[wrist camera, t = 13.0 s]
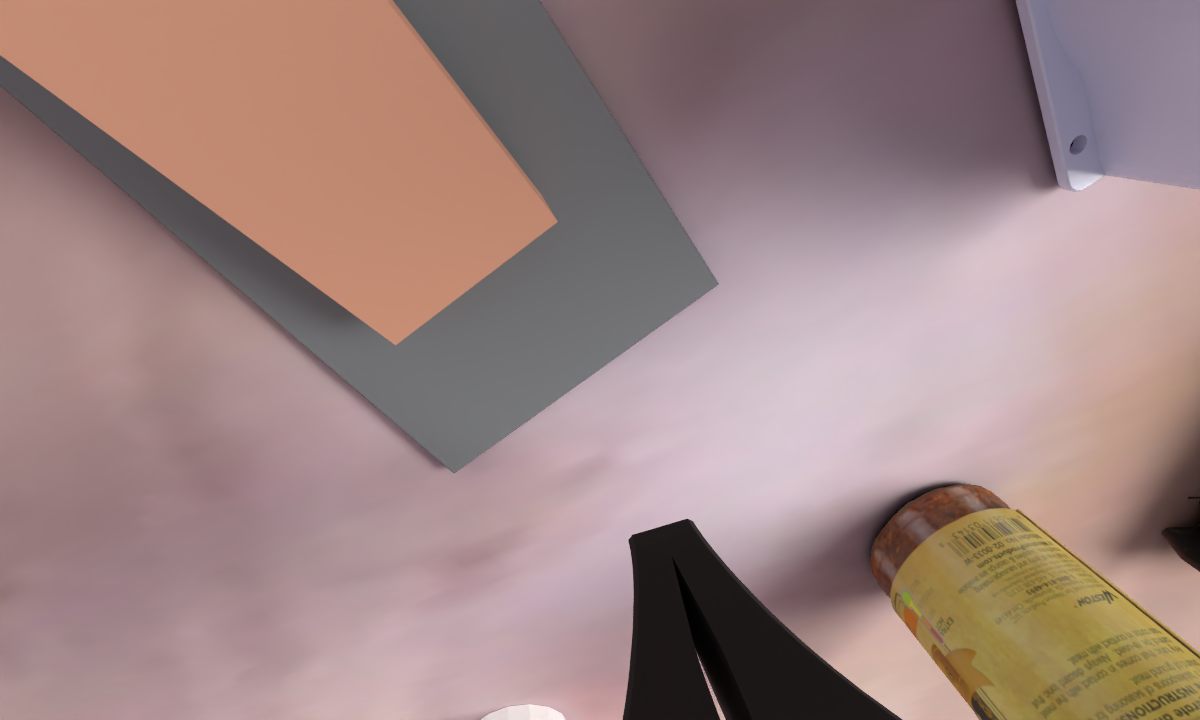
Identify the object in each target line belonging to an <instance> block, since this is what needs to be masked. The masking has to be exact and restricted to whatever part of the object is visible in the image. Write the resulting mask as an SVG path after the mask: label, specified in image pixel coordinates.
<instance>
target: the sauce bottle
mask: <svg viewBox="0 0 1200 720" xmlns="http://www.w3.org/2000/svg"><path fill="white" fill-rule="evenodd" d="M870 555H871V568H872V572H873V574H874V576H875V578H876V579H877V581H878V584H879V585H880V586H881V588H882V589H883V590H884V591H885V593H886V595H887V596H889V597H890V598H891V603H892V606H893V609H894V610H895V612H896V613H897V614H898V616H899V617H900V618H901V619H902V621H903V622H904V623H905V624H906V626H907V627H908V628H909V630H910V631H911V632H912V633H913V635H914V636H915V637H916V638H917V640H918V641H919V642H920V644H921V645H922V646H923V647H924V649H925V650H926V651H927V652H928V654H929V655H930V656H931V658H932V659H933V660H934V661H935V663H936V664H937V665H938V666H939V668H940V669H941V670H942V672H943V673H944V674H945V675H946V677H947V678H948V679H949V680H950V682H951V683H952V684H953V686H954V687H955V688H956V689H957V691H958V692H959V693H960V694H961V696H962V697H963V698H964V699H965V701H966V702H967V703H968V705H969V706H970V707H971V708H972V710H973V711H974V712H975V714H976V715H977V717H978V718H979V720H1200V653H1199V652H1198V651H1197V650H1196V649H1194V648H1193V647H1192V646H1191V645H1189V644H1188V643H1187V642H1186V641H1184V640H1183V639H1182V638H1181V637H1179V636H1178V635H1177V634H1176V633H1174V632H1173V631H1172V630H1171V629H1169V628H1168V627H1167V626H1166V625H1164V624H1163V623H1162V622H1161V621H1159V620H1158V619H1157V618H1156V617H1154V616H1153V615H1152V614H1151V613H1149V612H1148V611H1147V610H1145V609H1144V608H1143V607H1142V606H1140V605H1139V604H1138V603H1137V602H1135V601H1134V600H1133V599H1132V598H1130V597H1129V596H1128V595H1127V594H1125V593H1124V592H1123V591H1122V590H1120V589H1119V588H1118V587H1117V586H1115V585H1114V584H1113V583H1112V582H1110V581H1109V580H1108V579H1107V578H1105V577H1104V576H1103V575H1101V574H1100V573H1099V572H1098V571H1096V570H1095V569H1094V568H1093V567H1091V566H1090V565H1089V564H1087V563H1086V562H1085V561H1084V560H1082V559H1081V558H1080V557H1079V556H1077V555H1076V554H1075V553H1073V552H1072V551H1071V550H1070V549H1068V548H1067V547H1066V546H1065V545H1063V544H1062V543H1061V542H1059V541H1058V540H1057V539H1056V538H1054V537H1053V536H1052V535H1051V534H1049V533H1048V532H1047V531H1046V530H1044V529H1043V528H1042V527H1041V526H1039V525H1038V524H1037V523H1036V522H1034V521H1033V520H1032V519H1031V518H1029V517H1028V516H1027V515H1026V514H1024V513H1023V512H1022V511H1020V510H1019V509H1017V510H1016V511H1015V510H1013V509H1011V508H1009V506H1008V505H1007V504H1006V503H1005V502H1003V501H1002V500H1001V499H1000V498H999V497H997V496H996V495H994V494H993V493H992V492H991V491H989V490H987V489H985V488H983V487H981V486H977V485H970V484H969V485H964V484H957V485H952V486H948V487H945V488H937V489H934V490H932V491H930V492H927V493H925V494H923V495H921V496H920V497H918V498H916V499H915V500H913V501H910V502H907V504H906V505H905V506H904V507H902V508H901V509H900V510H899V511H898V512H897V513H896V514H895V515H894V516H892V518H891V520H889V522H888V523H887V524H886V525H885V526H884V527H883V528H882V530H881V532H880V533H879V534H878V536H877V537H876V539H875V541H874V543H873V546H872V553H871V554H870Z"/></svg>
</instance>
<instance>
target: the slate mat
mask: <svg viewBox="0 0 1200 720" xmlns="http://www.w3.org/2000/svg"><path fill="white" fill-rule="evenodd" d="M393 1H394V3H395V4H396V5H397V6H398V8H399V9H400V10H401V12H402V13H403V14H404V16H405V17H406V18H407V20H408V21H409V22H410V23H411V25H412V26H413V27H414V29H415V30H416V31H417V33H418V34H419V35H420V37H421V38H422V39H423V40H424V42H425V43H426V44H427V46H428V47H429V48H430V50H431V51H432V52H433V54H434V55H435V56H436V57H437V59H438V60H439V61H440V63H441V64H442V65H443V67H444V68H445V69H446V70H447V72H448V73H449V74H450V76H451V77H452V78H453V80H454V81H455V82H456V84H457V85H458V86H459V87H460V89H461V90H462V91H463V93H464V94H465V95H466V97H467V98H468V99H469V101H470V102H471V103H472V104H473V106H474V107H475V108H476V110H477V111H478V112H479V114H480V115H481V116H482V118H483V119H484V120H485V121H486V123H487V124H488V125H489V127H490V128H491V129H492V131H493V132H494V133H495V135H496V136H497V137H498V138H499V140H500V141H501V142H502V144H503V145H504V146H505V148H506V149H507V150H508V151H509V153H510V154H511V155H512V157H513V158H514V159H515V161H516V162H517V163H518V165H519V166H520V167H521V168H522V170H523V171H524V172H525V174H526V175H527V176H528V178H529V179H530V180H531V182H532V183H533V184H534V185H535V187H536V188H537V189H538V191H539V192H540V193H541V195H542V196H543V198H544V200H545V201H546V203H547V205H548V206H549V208H550V210H551V211H552V213H553V215H554V216H555V218H556V220H557V221H558V222H557V223H556V224H554V225H553V226H552V227H550V228H549V229H548V230H546V231H545V232H544V233H543V234H541V235H540V236H539V237H537V238H536V239H535V240H533V241H532V242H531V243H529V244H528V245H527V246H525V247H524V248H523V249H522V250H520V251H519V252H518V253H516V254H515V255H514V256H512V257H511V258H510V259H508V260H507V261H506V262H504V263H503V264H502V265H500V266H499V267H498V268H497V269H495V270H494V271H493V272H491V273H490V274H489V275H487V276H486V277H485V278H483V279H482V280H481V281H479V282H478V283H477V284H476V285H474V286H473V287H472V288H470V289H469V290H468V291H466V292H465V293H464V294H462V295H461V296H460V297H458V298H457V299H456V300H455V301H453V302H452V303H451V304H449V305H448V306H447V307H445V308H444V309H443V310H441V311H440V312H439V313H437V314H436V315H435V316H433V317H432V318H431V319H430V320H428V321H427V322H426V323H424V324H423V325H422V326H420V327H419V328H418V329H416V330H415V331H414V332H412V333H411V334H410V335H409V336H407V337H406V338H405V339H403V340H402V341H401V342H399V343H398V344H397V345H394V344H393V343H392V342H390V341H389V340H388V339H386V338H385V337H384V336H382V335H381V334H379V333H378V332H377V331H375V330H374V329H373V328H371V327H370V326H369V325H367V324H366V323H364V322H363V321H362V320H360V319H359V318H358V317H356V316H355V315H354V314H352V313H351V312H349V311H348V310H347V309H345V308H344V307H343V306H341V305H340V304H339V303H337V302H336V301H334V300H333V299H332V298H330V297H329V296H328V295H326V294H325V293H324V292H322V291H321V290H320V289H318V288H317V287H315V286H314V285H313V284H311V283H310V282H309V281H307V280H306V279H305V278H303V277H302V276H300V275H299V274H298V273H296V272H295V271H294V270H292V269H291V268H290V267H288V266H287V265H285V264H284V263H283V262H281V261H280V260H279V259H277V258H276V257H275V256H273V255H272V254H270V253H269V252H268V251H266V250H265V249H264V248H262V247H261V246H260V245H258V244H257V243H256V242H254V241H253V240H251V239H250V238H249V237H247V236H246V235H245V234H243V233H242V232H241V231H239V230H238V229H236V228H235V227H234V226H232V225H231V224H230V223H228V222H227V221H226V220H224V219H223V218H221V217H220V216H219V215H217V214H216V213H215V212H213V211H212V210H211V209H209V208H208V207H206V206H205V205H204V204H202V203H201V202H200V201H198V200H197V199H196V198H194V197H193V196H191V195H190V194H189V193H187V192H186V191H185V190H183V189H182V188H181V187H179V186H178V185H177V184H175V183H174V182H172V181H171V180H170V179H168V178H167V177H166V176H164V175H163V174H162V173H160V172H159V171H157V170H156V169H155V168H153V167H152V166H151V165H149V164H148V163H147V162H145V161H144V160H142V159H141V158H140V157H138V156H137V155H136V154H134V153H133V152H132V151H130V150H129V149H127V148H126V147H125V146H123V145H122V144H121V143H119V142H118V141H117V140H115V139H114V138H112V137H111V136H110V135H108V134H107V133H106V132H104V131H103V130H102V129H100V128H99V127H98V126H96V125H95V124H93V123H92V122H91V121H89V120H88V119H87V118H85V117H84V116H83V115H81V114H80V113H78V112H77V111H76V110H74V109H73V108H72V107H70V106H69V105H68V104H66V103H65V102H63V101H62V100H61V99H59V98H58V97H57V96H55V95H54V94H53V93H51V92H50V91H48V90H47V89H46V88H44V87H43V86H42V85H40V84H39V83H38V82H36V81H35V80H34V79H32V78H31V77H29V76H28V75H27V74H25V73H24V72H23V71H21V70H20V69H19V68H17V67H16V66H14V65H13V64H12V63H10V62H9V61H8V60H6V59H5V58H4V57H2V56H1V55H0V86H2V87H3V88H4V89H5V90H6V91H7V92H9V93H10V94H11V95H12V96H13V97H14V98H16V99H17V100H18V101H19V102H20V103H22V104H23V105H24V106H25V107H26V108H27V109H29V110H30V111H31V112H32V113H33V114H34V115H36V116H37V117H38V118H39V119H40V120H41V121H43V122H44V123H45V124H46V125H47V126H48V127H50V128H51V129H52V130H53V131H54V132H55V133H57V134H58V135H59V136H60V137H61V138H62V139H64V140H65V141H66V142H67V143H68V144H69V145H71V146H72V147H73V148H74V149H75V150H76V151H78V152H79V153H80V154H81V155H82V156H83V157H85V158H86V159H87V160H88V161H89V162H90V163H92V164H93V165H94V166H95V167H96V168H97V169H99V170H100V171H101V172H102V173H103V174H104V175H106V176H107V177H108V178H109V179H110V180H112V181H113V182H114V183H115V184H116V185H117V186H119V187H120V188H121V189H122V190H123V191H124V192H126V193H127V194H128V195H129V196H130V197H131V198H133V199H134V200H135V201H136V202H137V203H138V204H140V205H141V206H142V207H143V208H144V209H145V210H147V211H148V212H149V213H150V214H151V215H152V216H154V217H155V218H156V219H157V220H158V221H159V222H161V223H162V224H163V225H164V226H165V227H166V228H168V229H169V230H170V231H171V232H172V233H173V234H175V235H176V236H177V237H178V238H179V239H180V240H182V241H183V242H184V243H185V244H186V245H187V246H189V247H190V248H191V249H192V250H193V251H195V252H196V253H197V254H198V255H199V256H200V257H202V258H203V259H204V260H205V261H206V262H207V263H209V264H210V265H211V266H212V267H213V268H214V269H216V270H217V271H218V272H219V273H220V274H221V275H223V276H224V277H225V278H226V279H227V280H228V281H230V282H231V283H232V284H233V285H234V286H235V287H237V288H238V289H239V290H240V291H241V292H242V293H244V294H245V295H246V296H247V297H248V298H249V299H251V300H252V301H253V302H254V303H255V304H256V305H258V306H259V307H260V308H261V309H262V310H263V311H265V312H266V313H267V314H268V315H269V316H270V317H272V318H273V319H274V320H275V321H276V322H277V323H279V324H280V325H281V326H282V327H283V328H285V329H286V330H287V331H288V332H289V333H290V334H292V335H293V336H294V337H295V338H296V339H297V340H299V341H300V342H301V343H302V344H303V345H304V346H306V347H307V348H308V349H309V350H310V351H311V352H313V353H314V354H315V355H316V356H317V357H318V358H320V359H321V360H322V361H323V362H324V363H325V364H327V365H328V366H329V367H330V368H331V369H332V370H334V371H335V372H336V373H337V374H338V375H339V376H341V377H342V378H343V379H344V380H345V381H346V382H348V383H349V384H350V385H351V386H352V387H353V388H355V389H356V390H357V391H358V392H359V393H360V394H362V395H363V396H364V397H365V398H366V399H367V400H369V401H370V402H371V403H372V404H373V405H375V406H376V407H377V408H378V409H379V410H380V411H382V412H383V413H384V414H385V415H386V416H387V417H389V418H390V419H391V420H392V421H393V422H394V423H396V424H397V425H398V426H399V427H400V428H401V429H403V430H404V431H405V432H406V433H407V434H408V435H410V436H411V437H412V438H413V439H414V440H415V441H417V442H418V443H419V444H420V445H421V446H422V447H424V448H425V449H426V450H427V451H428V452H429V453H431V454H432V455H433V456H434V457H435V458H436V459H438V460H439V461H440V462H441V463H442V464H443V465H445V466H446V467H447V468H448V469H449V470H450V471H452V472H453V473H456V472H457V471H458V470H460V469H461V468H463V467H464V466H465V465H467V464H468V463H470V462H471V461H472V460H474V459H475V458H477V457H478V456H479V455H481V454H482V453H483V452H485V451H486V450H488V449H489V448H490V447H492V446H493V445H495V444H496V443H497V442H499V441H500V440H502V439H503V438H504V437H506V436H507V435H509V434H510V433H511V432H513V431H514V430H516V429H517V428H518V427H520V426H521V425H523V424H524V423H525V422H527V421H528V420H530V419H531V418H532V417H534V416H535V415H537V414H538V413H539V412H541V411H542V410H544V409H545V408H546V407H548V406H549V405H551V404H552V403H553V402H555V401H556V400H558V399H559V398H560V397H562V396H563V395H564V394H566V393H567V392H569V391H570V390H571V389H573V388H574V387H576V386H577V385H578V384H580V383H581V382H583V381H584V380H585V379H587V378H588V377H590V376H591V375H592V374H594V373H595V372H597V371H598V370H599V369H601V368H602V367H604V366H605V365H606V364H608V363H609V362H611V361H612V360H613V359H615V358H616V357H618V356H619V355H620V354H622V353H623V352H625V351H626V350H627V349H629V348H630V347H632V346H633V345H634V344H636V343H637V342H639V341H640V340H641V339H643V338H644V337H646V336H647V335H648V334H650V333H651V332H652V331H654V330H655V329H657V328H658V327H659V326H661V325H662V324H664V323H665V322H666V321H668V320H669V319H671V318H672V317H673V316H675V315H676V314H678V313H679V312H680V311H682V310H683V309H685V308H686V307H687V306H689V305H690V304H692V303H693V302H694V301H696V300H697V299H699V298H700V297H701V296H703V295H704V294H706V293H707V292H708V291H710V290H711V289H713V288H714V287H715V286H717V285H718V282H717V280H716V279H715V277H714V276H713V274H712V273H711V271H710V269H709V268H708V266H707V265H706V263H705V261H704V260H703V258H702V257H701V255H700V254H699V252H698V250H697V249H696V247H695V246H694V244H693V243H692V241H691V239H690V238H689V236H688V235H687V233H686V231H685V230H684V228H683V227H682V225H681V224H680V222H679V220H678V219H677V217H676V216H675V214H674V212H673V211H672V209H671V208H670V206H669V205H668V203H667V201H666V200H665V198H664V197H663V195H662V193H661V192H660V190H659V189H658V187H657V186H656V184H655V182H654V181H653V179H652V178H651V176H650V174H649V173H648V171H647V170H646V168H645V167H644V165H643V163H642V162H641V160H640V159H639V157H638V156H637V154H636V152H635V151H634V149H633V148H632V146H631V144H630V143H629V141H628V140H627V138H626V137H625V135H624V133H623V132H622V130H621V129H620V127H619V125H618V124H617V122H616V121H615V119H614V118H613V116H612V114H611V113H610V111H609V110H608V108H607V106H606V105H605V103H604V102H603V100H602V99H601V97H600V95H599V94H598V92H597V91H596V89H595V87H594V86H593V84H592V83H591V81H590V80H589V78H588V76H587V75H586V73H585V72H584V70H583V69H582V67H581V65H580V64H579V62H578V61H577V59H576V57H575V56H574V54H573V53H572V51H571V50H570V48H569V46H568V45H567V43H566V42H565V40H564V38H563V37H562V35H561V34H560V32H559V31H558V29H557V27H556V26H555V24H554V23H553V21H552V19H551V18H550V16H549V15H548V13H547V12H546V10H545V8H544V7H543V5H542V4H541V2H540V1H539V0H393Z"/></svg>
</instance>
